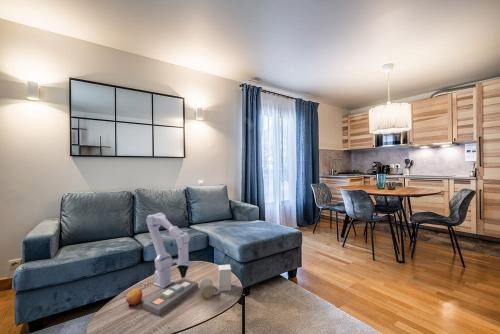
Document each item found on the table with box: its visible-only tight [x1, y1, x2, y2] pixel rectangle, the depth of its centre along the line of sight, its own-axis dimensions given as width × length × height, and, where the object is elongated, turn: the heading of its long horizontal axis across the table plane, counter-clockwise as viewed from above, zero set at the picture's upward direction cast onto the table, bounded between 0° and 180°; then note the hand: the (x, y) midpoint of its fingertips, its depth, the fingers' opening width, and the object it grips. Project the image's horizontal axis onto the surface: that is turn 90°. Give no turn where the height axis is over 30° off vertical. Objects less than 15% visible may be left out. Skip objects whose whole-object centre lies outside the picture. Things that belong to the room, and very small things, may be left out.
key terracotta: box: [152, 298, 165, 306], centre depth 121 cm, size 4×4×2 cm
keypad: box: [142, 277, 199, 316], centre depth 130 cm, size 12×29×3 cm, turn 152°
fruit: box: [125, 287, 143, 306], centre depth 125 cm, size 8×8×8 cm
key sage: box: [162, 289, 174, 299], centre depth 127 cm, size 4×4×2 cm
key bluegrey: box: [171, 284, 183, 293], centre depth 132 cm, size 4×4×2 cm
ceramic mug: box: [199, 278, 220, 299], centre depth 133 cm, size 11×8×8 cm
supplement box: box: [217, 263, 232, 292], centre depth 140 cm, size 7×7×13 cm
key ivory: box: [180, 282, 191, 287], centre depth 138 cm, size 4×4×2 cm
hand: (183, 277), depth 137 cm, fingers closed
